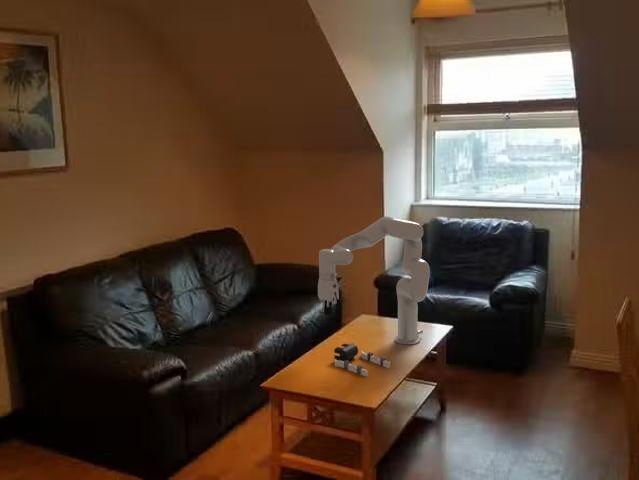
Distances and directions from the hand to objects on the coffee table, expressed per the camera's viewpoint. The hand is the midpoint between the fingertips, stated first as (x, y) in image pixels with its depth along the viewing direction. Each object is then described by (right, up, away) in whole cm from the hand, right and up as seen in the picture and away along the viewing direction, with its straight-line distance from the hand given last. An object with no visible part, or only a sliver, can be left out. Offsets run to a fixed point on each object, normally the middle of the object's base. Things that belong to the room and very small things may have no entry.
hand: (327, 314), depth 312 cm
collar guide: (+15, -22, -13) cm, 30 cm away
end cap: (+8, -21, -5) cm, 23 cm away
